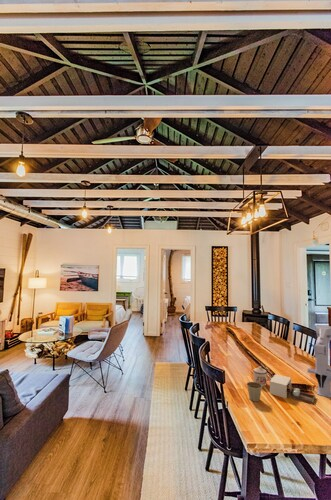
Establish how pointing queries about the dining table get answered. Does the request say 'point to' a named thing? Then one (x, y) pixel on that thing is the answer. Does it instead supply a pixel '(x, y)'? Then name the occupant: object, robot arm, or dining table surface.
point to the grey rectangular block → (280, 385)
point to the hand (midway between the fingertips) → (321, 387)
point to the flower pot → (254, 390)
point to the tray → (303, 397)
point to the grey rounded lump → (296, 393)
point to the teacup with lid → (261, 376)
